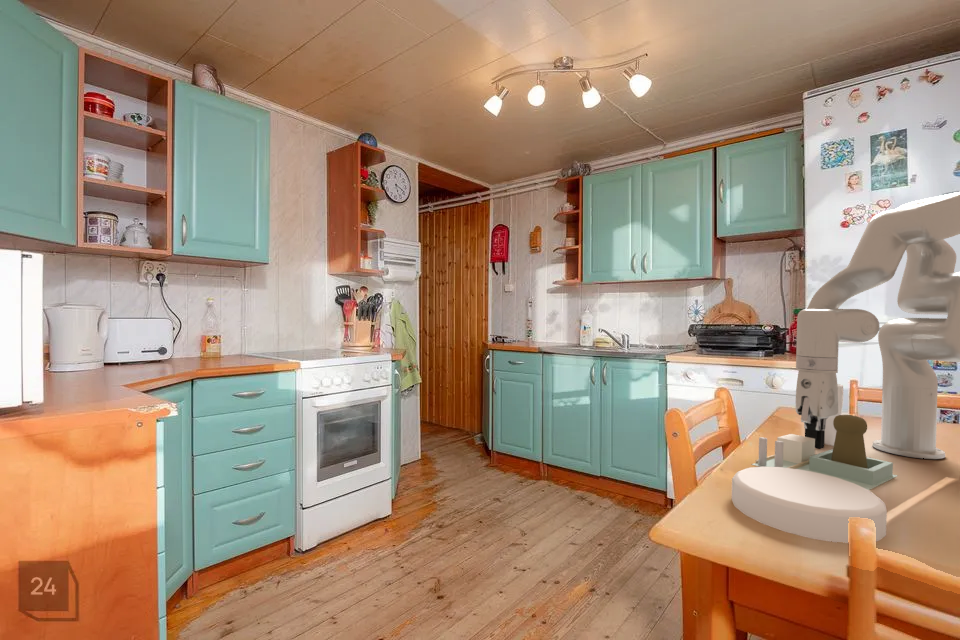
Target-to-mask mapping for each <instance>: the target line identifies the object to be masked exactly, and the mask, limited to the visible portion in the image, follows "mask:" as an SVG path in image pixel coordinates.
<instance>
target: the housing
mask: <svg viewBox="0 0 960 640" xmlns="http://www.w3.org/2000/svg"><path fill="white" fill-rule="evenodd" d="M776 441H782V442H784V446H783V460H785V461H789V462H793V463H797V464H799V463H802V462H805V461H808V460H809V457H810V456H813V455H816V454H815V453H816V452H815V451H816V448H815V439H814V438H809V437H805V435H804V436H803V435H798V434H794V433H789V434H786V435H785V434H783V435H781V436H777V440H776Z"/></svg>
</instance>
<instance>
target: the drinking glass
mask: <svg viewBox="0 0 960 640" xmlns="http://www.w3.org/2000/svg"><path fill="white" fill-rule="evenodd" d="M837 386H838V413H837V414H836V415H834V416H831V417H828V418H827V419H826V426H825V438H824V445H827V446H832V447H834V442H835V437H836V432H837V431H836V429H835V428H834V425H833V421H834V418H835V417H836V416H838V415H843V414H842V413H843V406H844V385H843V384H839V383H837Z"/></svg>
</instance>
